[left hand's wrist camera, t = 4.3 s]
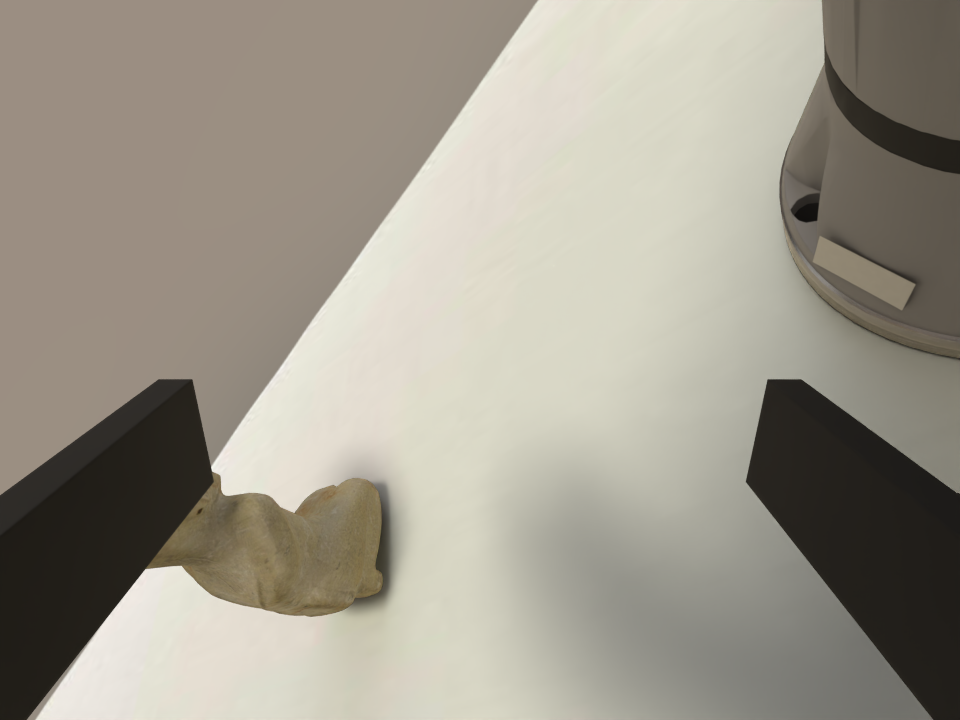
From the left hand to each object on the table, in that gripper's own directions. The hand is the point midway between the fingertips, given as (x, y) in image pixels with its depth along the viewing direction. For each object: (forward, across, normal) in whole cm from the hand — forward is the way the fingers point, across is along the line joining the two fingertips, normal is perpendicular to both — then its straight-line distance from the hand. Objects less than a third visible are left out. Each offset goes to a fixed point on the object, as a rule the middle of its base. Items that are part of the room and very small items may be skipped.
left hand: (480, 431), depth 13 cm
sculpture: (+15, -7, -16) cm, 23 cm away
